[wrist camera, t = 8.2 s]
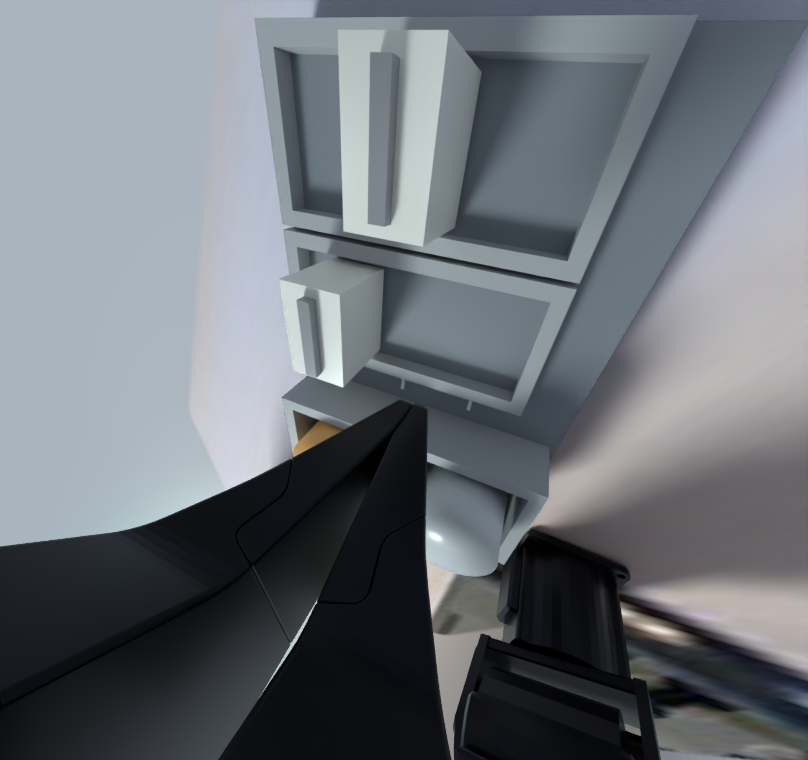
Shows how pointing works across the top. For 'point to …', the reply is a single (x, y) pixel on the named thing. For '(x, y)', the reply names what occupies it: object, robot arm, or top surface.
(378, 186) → the slider
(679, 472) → the top surface
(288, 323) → the slider
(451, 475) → the button
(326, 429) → the button
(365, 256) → the panel
